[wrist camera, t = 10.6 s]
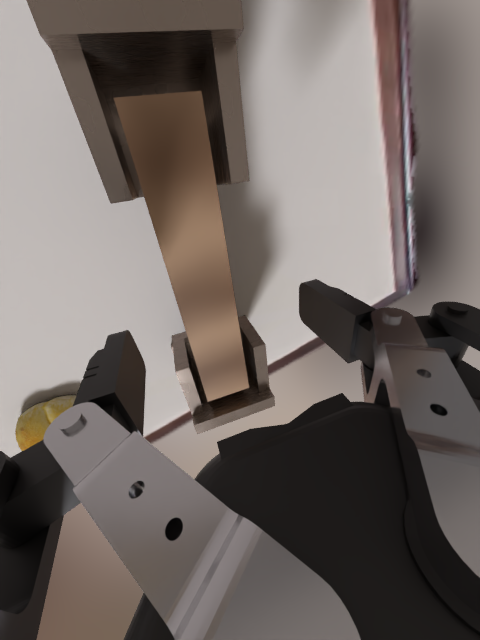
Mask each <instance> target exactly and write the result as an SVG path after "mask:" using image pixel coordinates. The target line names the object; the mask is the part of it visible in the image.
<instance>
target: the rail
mask: <svg viewBox="0 0 480 640" xmlns="http://www.w3.org/2000/svg"><path fill="white" fill-rule="evenodd" d="M114 101H115V104H116V107H117V111H118V114H119V117H120V120H121V124H122V127H123V130H124V133H125V136H126V140H127V143H128V146H129V149H130V152H131V156H132V159H133V162H134V165H135V169H136V172H137V175H138V178H139V181H140V185H141V188H142V191H143V194H144V198H145V201H146V204H147V207H148V210H149V214H150V217H151V220H152V223H153V227H154V230H155V233H156V236H157V239H158V243H159V246H160V249H161V252H162V256H163V259H164V262H165V265H166V268H167V272H168V275H169V278H170V281H171V285H172V288H173V291H174V294H175V297H176V301H177V304H178V307H179V310H180V314H181V317H182V320H183V323H184V326H185V330H186V333H187V336H188V339H189V343H190V346H191V349H192V352H193V355H194V359H195V362H196V365H197V368H198V372H199V375H200V378H201V381H202V384H203V388H204V391H205V394H206V397H207V400H208V402H209V401H212V400H215V399H218V398H221V397H223V396H226V395H229V394H232V393H235V392H238V391H241V390H244V389H247V388H249V384H248V377H247V371H246V365H245V359H244V352H243V346H242V340H241V334H240V328H239V321H238V315H237V309H236V303H235V297H234V290H233V284H232V278H231V272H230V265H229V259H228V253H227V247H226V241H225V234H224V228H223V222H222V216H221V210H220V203H219V197H218V191H217V185H216V179H215V172H214V166H213V160H212V154H211V147H210V141H209V135H208V129H207V123H206V116H205V110H204V104H203V98H202V92H201V91H191V92H179V93H166V94H154V95H141V96H129V97H116V98H114Z"/></svg>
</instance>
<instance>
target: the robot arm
mask: <svg viewBox="0 0 480 640" xmlns="http://www.w3.org/2000/svg"><path fill="white" fill-rule="evenodd" d="M299 314H300V317H301V320H302V321H303V323H304V324H305V325H306V326H307V327H309V328H310V329H311V330H312V331H313V332H314V333H315V334H316V335H317V336H318V337H320V338H321V339H322V340H323V341H324V342H325V343H326V344H327V345H328V346H329V347H331V348H332V349H333V350H334V351H335V352H336V353H337V354H338V355H339V356H341V357H342V358H343V359H344V360H345V361H346V362H347V363H351V362H354V361H356V360H361V361H362V363H361V375H362V385H363V394H364V402H350V401H349V400H348V399H347V398H346V397H345V396H344V394H343V393H341V394H339V395H336V396H333V397H331V398H329V399H326V400H323V401H321V402H318V403H316V404H314V405H312V406H311V407H310V408H308V409H307V410H306V411H304V412H303V413H302V414H300V415H299V416H298V417H297V418H295V419H294V420H292V421H291V422H290V423H288V424H284V425H277V426H269V427H262V428H254V429H249V430H247V431H244V432H241V433H239V434H237V435H234V436H232V437H229V438H227V439H224V440H221V441H219V442H217V444H218V448H219V452H220V453H219V454H218V455H217V456H215V457H214V458H213V459H212V460H211V461H210V462H209V463H208V464H206V466H205V467H204V468H203V469H202V470H201V471H200V473H199V474H198V475H197V477H196V478H195V479H193V478H192V477H191V476H189V475H188V474H187V473H186V472H185V471H183V470H182V469H181V468H180V467H178V466H177V465H176V464H175V463H174V462H172V461H171V460H170V459H169V458H168V457H166V456H165V455H164V454H163V453H161V452H160V451H159V450H158V449H157V448H155V447H154V446H153V445H152V444H151V443H149V442H148V441H147V440H146V439H144V438H143V425H144V400H145V376H146V369H145V364H144V361H143V358H142V356H141V354H140V352H139V350H138V348H137V345H136V343H135V341H134V339H133V337H132V335H131V333H130V332H129V331H128V330H126V331H123V332H119V333H115V334H111V335H109V336H108V337H107V341H106V344H105V347H104V349H102V350H98V351H97V352H96V353H95V355H94V356H93V357H92V358H91V359H90V360H89V363H88V366H87V368H86V371H85V374H84V377H83V378H84V379H83V380H82V382H81V385H80V387H79V390H78V393H77V396H76V398H75V401H74V404H73V407H71V408H69V409H67V410H66V411H64V412H63V413H61V414H60V415H59V416H58V417H57V418H56V419H54V421H53V422H52V423H51V424H50V425H49V427H48V428H47V430H46V432H45V434H44V438H43V440H42V441H40V442H38V443H36V444H35V445H33V446H31V447H29V448H27V449H26V450H24V451H22V452H20V453H19V454H17V455H15V456H13V457H11V458H10V457H8V456H7V455H6V454H5V453H3V452H2V451H0V640H36V639H37V634H38V630H39V625H40V621H41V616H42V612H43V607H44V603H45V598H46V594H47V589H48V584H49V580H50V575H51V571H52V566H53V562H54V557H55V553H56V548H57V543H58V539H59V535H60V530H61V526H62V521H63V516H64V514H66V513H67V512H68V511H70V510H71V509H72V508H74V507H75V506H77V505H78V504H79V503H82V505H83V506H84V507H85V509H86V510H87V512H88V513H89V515H90V516H91V517H92V519H93V520H94V522H95V523H96V525H97V526H98V528H99V529H100V530H101V532H102V533H103V535H104V536H105V538H106V539H107V540H108V542H109V543H110V545H111V546H112V547H113V549H114V550H115V552H116V553H117V555H118V556H119V558H120V559H121V560H122V562H123V563H124V565H125V566H126V568H127V569H128V570H129V572H130V573H131V575H132V576H133V578H134V579H135V580H136V581H137V583H138V585H139V586H140V587H141V589H142V590H143V592H144V593H143V596H142V598H141V600H140V603H139V605H138V607H137V610H136V612H135V614H134V617H133V619H132V621H131V624H130V626H129V628H128V631H127V633H126V635H125V638H124V640H480V371H479V370H477V369H476V368H474V367H472V366H471V365H469V364H468V363H466V362H464V361H462V358H463V356H464V354H465V352H466V350H467V348H468V346H471V347H473V348H475V349H477V350H478V351H480V309H477V308H475V307H473V306H470V305H467V304H462V303H458V302H439V303H436V304H434V305H433V307H432V310H431V313H430V315H429V316H418V317H414V316H413V315H411V314H410V313H409V312H407V311H404V310H401V309H397V308H390V307H384V308H378V309H375V308H373V307H371V306H369V305H367V304H366V303H364V302H362V301H360V300H358V299H356V298H354V297H353V296H351V295H349V294H348V295H347V293H346V292H344V291H342V290H340V289H338V288H334V287H330V286H328V285H326V284H324V283H323V282H321V281H319V280H317V279H315V280H311V281H308V282H304V283H301V284H300V287H299Z"/></svg>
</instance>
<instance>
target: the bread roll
mask: <svg viewBox="0 0 480 640" xmlns="http://www.w3.org/2000/svg"><path fill="white" fill-rule="evenodd" d="M76 396H77V395H67V396H61V397H57V398H54V399H52V400H50V401H48V402H42V403H39V404H37V405H34V406H32V407H31V408H29V409H28V410H26V411H25V412H24V413H23V414H22V415H20V417H19V418H18V421H17V425H16V431H15V432H16V440H17V442H18V445H19V447H20V449H21V450H22V451H24V450H26V449H27V448H29V447H31V446H33V445H35V444H36V443H38V442H40V441H42V440H43V438H44V434H45V432H46V430H47V428H48V427H49V425H50V424H51V423H52V422H53V421H54V419H56V418H57V417H58V416H59V415H60V414H61V413H63V412H64V411H66V410H67V409H69V408H71V407H73V404H74V401H75V398H76Z"/></svg>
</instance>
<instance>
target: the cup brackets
mask: <svg viewBox="0 0 480 640" xmlns="http://www.w3.org/2000/svg"><path fill="white" fill-rule="evenodd" d="M27 3H28V5H29V8H30V10H31V13H32V15H33V18H34V21H35V23H36V26H37V28H38V31H39V33H40V35H41V37H42V38H43V39H44V41H45V42H46V43H47V45H48V46H49V47H50V49H51V50H52V52H53V55H54V57H55V60H56V63H57V65H58V68H59V70H60V73H61V76H62V78H63V81H64V83H65V86H66V89H67V91H68V94H69V96H70V99H71V102H72V104H73V107H74V109H75V112H76V115H77V117H78V120H79V122H80V125H81V128H82V130H83V133H84V135H85V138H86V141H87V143H88V146H89V148H90V151H91V154H92V156H93V159H94V161H95V164H96V167H97V169H98V172H99V174H100V177H101V180H102V182H103V185H104V187H105V190H106V193H107V195H108V198H109V200H110V203H118V202H124V201H130V200H134V199H136V198H138V197H144V194H143V191H142V188H141V185H140V181H139V178H138V175H137V172H136V169H135V165H134V162H133V159H132V156H131V152H130V149H129V146H128V143H127V140H126V136H125V133H124V130H123V127H122V124H121V120H120V117H119V114H118V111H117V107H116V104H115V101H114V98H116V97H129V96H141V95H154V94H166V93H179V92H191V91H201V92H202V98H203V104H204V110H205V116H206V123H207V129H208V135H209V141H210V147H211V154H212V160H213V166H214V172H215V179H216V185H222V184H233V183H239V182H246V181H249V171H248V161H247V151H246V140H245V130H244V120H243V109H242V99H241V89H240V78H239V68H238V58H237V47H236V41H237V40H238V38H239V36H240V34H241V32H242V30H243V17H242V5H241V0H27ZM238 321H239V328H240V334H241V340H242V346H243V352H244V359H245V365H246V371H247V377H248V384H249V388H247V389H244V390H241V391H238V392H235V393H232V394H229V395H226V396H223V397H221V398H218V399H215V400H212V401H209V402H208V400H207V397H206V394H205V391H204V388H203V384H202V381H201V378H200V375H199V372H198V368H197V365H196V362H195V359H194V355H193V352H192V349H191V346H190V343H189V339H188V336H187V333H186V332H183V333H179V334H176V335H172V342H173V343H172V344H171V348H172V351H173V353H174V362H175V371H176V374H177V377H178V380H179V382H180V385H181V387H182V390H183V393H184V395H185V398H186V400H187V403H188V406H189V408H190V411H191V413H192V417H193V423H194V427H195V429H196V432H197V434H199V433H202V432H205V431H208V430H210V429H213V428H216V427H218V426H221V425H224V424H226V423H229V422H232V421H235V420H237V419H240V418H243V417H246V416H248V415H251V414H254V413H257V412H259V411H262V410H265V409H267V408H270V407H272V406H275V400H274V395H273V394H272V392H271V390H270V388H269V378H268V367H267V357H266V347H265V343H264V342H263V340H262V339H261V337H260V336H259V335H258V333H257V332H256V330H255V329H254V327H253V326H252V325H251V323H250V322H249V320H248V319H247V317H246V316H245V315H244V316H240V317H238Z"/></svg>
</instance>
